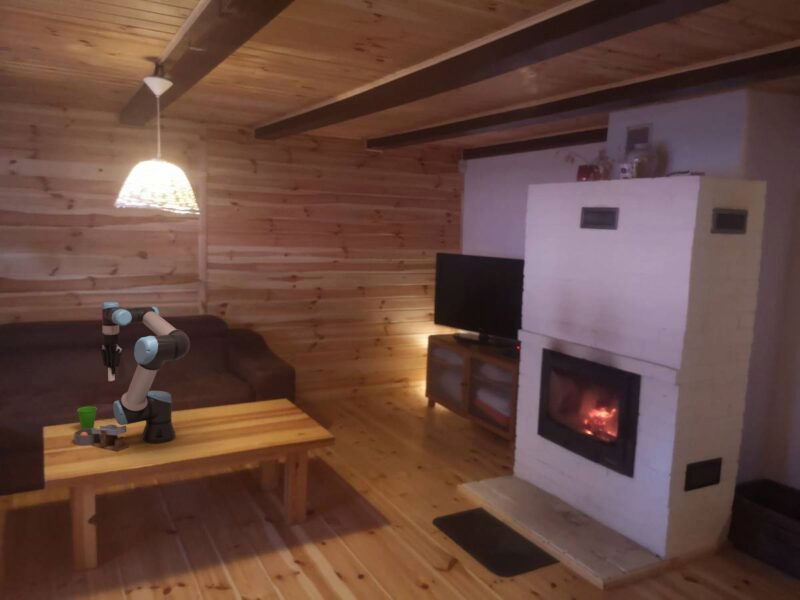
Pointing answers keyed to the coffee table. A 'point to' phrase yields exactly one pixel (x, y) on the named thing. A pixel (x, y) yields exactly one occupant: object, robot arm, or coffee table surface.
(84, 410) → the cup
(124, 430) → the grey slab
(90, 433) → the dish
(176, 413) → the coffee table surface
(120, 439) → the fulcrum
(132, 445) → the coffee table surface
